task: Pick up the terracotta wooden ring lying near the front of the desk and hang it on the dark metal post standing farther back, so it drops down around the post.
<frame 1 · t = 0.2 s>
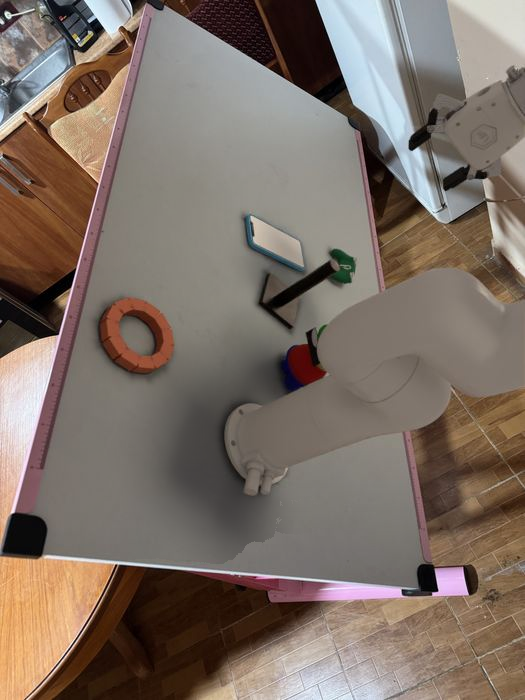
hand: (427, 166, 94), 31 cm above the table, tool pointing down, fingers open, 9 cm apart
smartphone: (273, 245, 110), on the table
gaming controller: (334, 271, 123), on the table
post: (278, 301, 103), on the table
toy: (284, 374, 96), on the table
ring: (134, 337, 77), on the table
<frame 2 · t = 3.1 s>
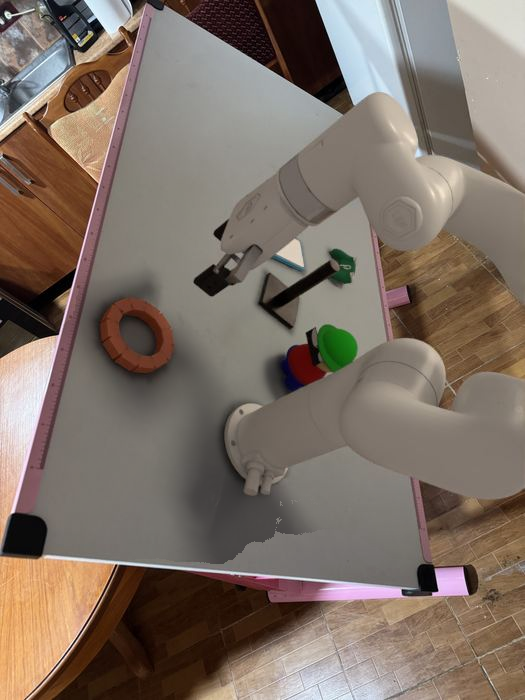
hand: (212, 263, 72), 14 cm above the table, tool pointing down, fingers open, 9 cm apart
nothing on the table moved.
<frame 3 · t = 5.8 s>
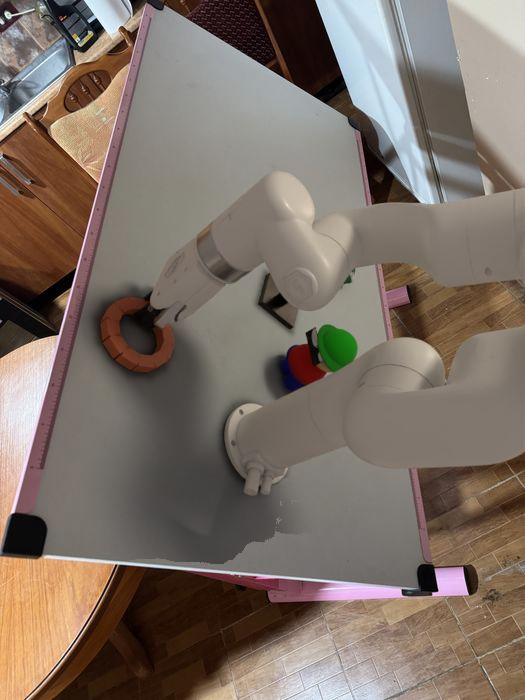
hand: (145, 315, 80), 0 cm above the table, tool pointing down, fingers closed on ring, 2 cm apart
ring: (135, 336, 77), on the table, touching gripper
everything else where it was.
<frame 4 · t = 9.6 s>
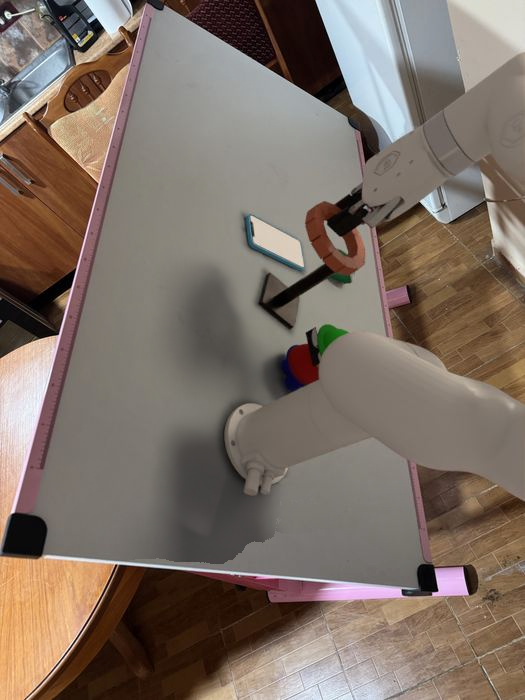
hand: (335, 222, 80), 23 cm above the table, tool pointing down, fingers closed on ring
ring: (331, 241, 78), point 23 cm above the table, touching gripper
everything else where it was.
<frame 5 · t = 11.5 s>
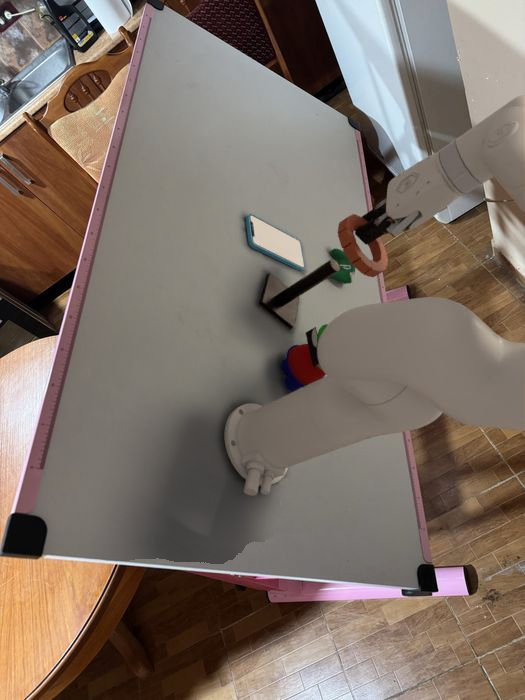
hand: (361, 232, 94), 19 cm above the table, tool pointing down, fingers closed on ring
ring: (359, 248, 91), point 19 cm above the table, touching gripper
everything else where it was.
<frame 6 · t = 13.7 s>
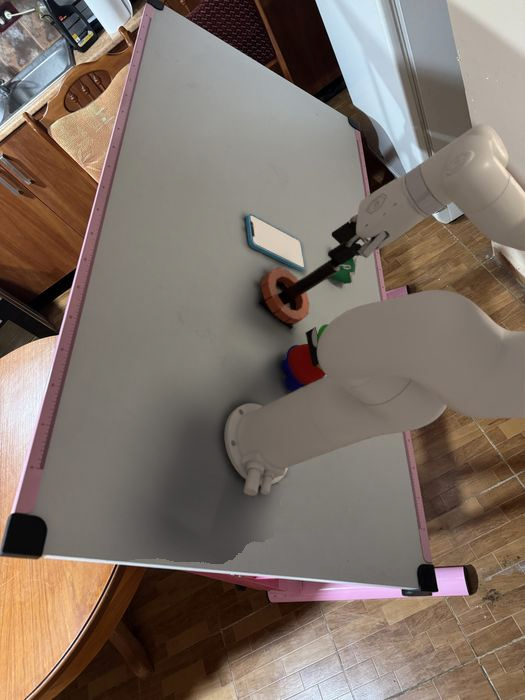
hand: (336, 248, 98), 14 cm above the table, tool pointing down, fingers open, 4 cm apart
ring: (282, 297, 103), point 1 cm above the table, touching post
everything else where it was.
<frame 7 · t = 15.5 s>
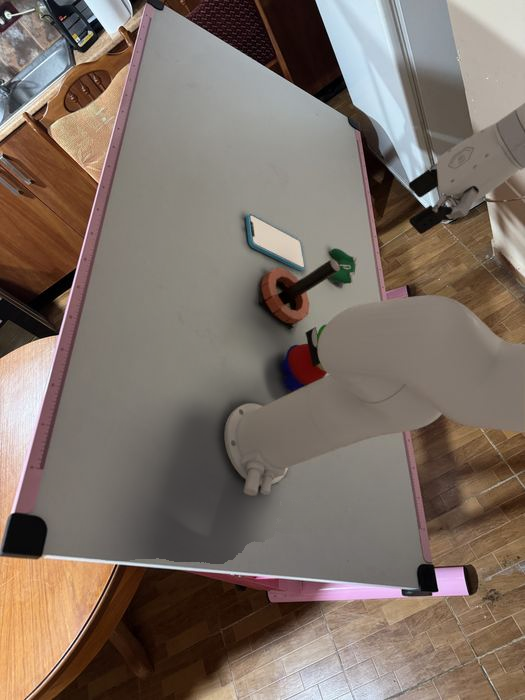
hand: (414, 208, 89), 29 cm above the table, tool pointing down, fingers open, 9 cm apart
nothing on the table moved.
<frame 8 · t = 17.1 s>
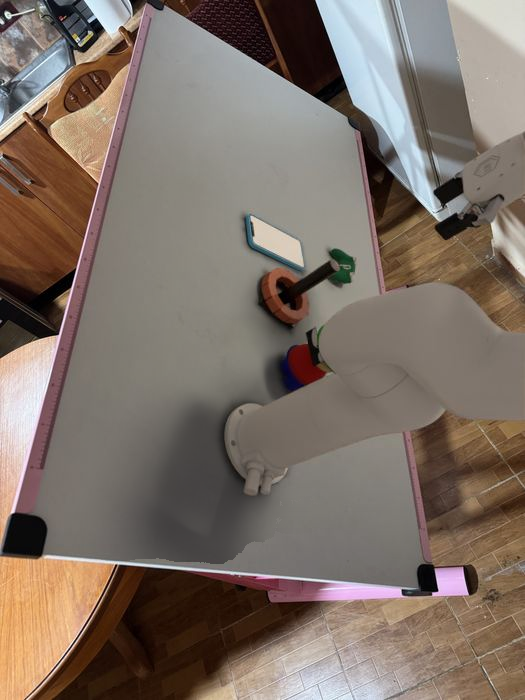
hand: (438, 215, 91), 30 cm above the table, tool pointing down, fingers open, 9 cm apart
nothing on the table moved.
at the end: ring 0.5 cm off-centre on the post, point 1.0 cm above the post's base; the gripper is holding nothing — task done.
